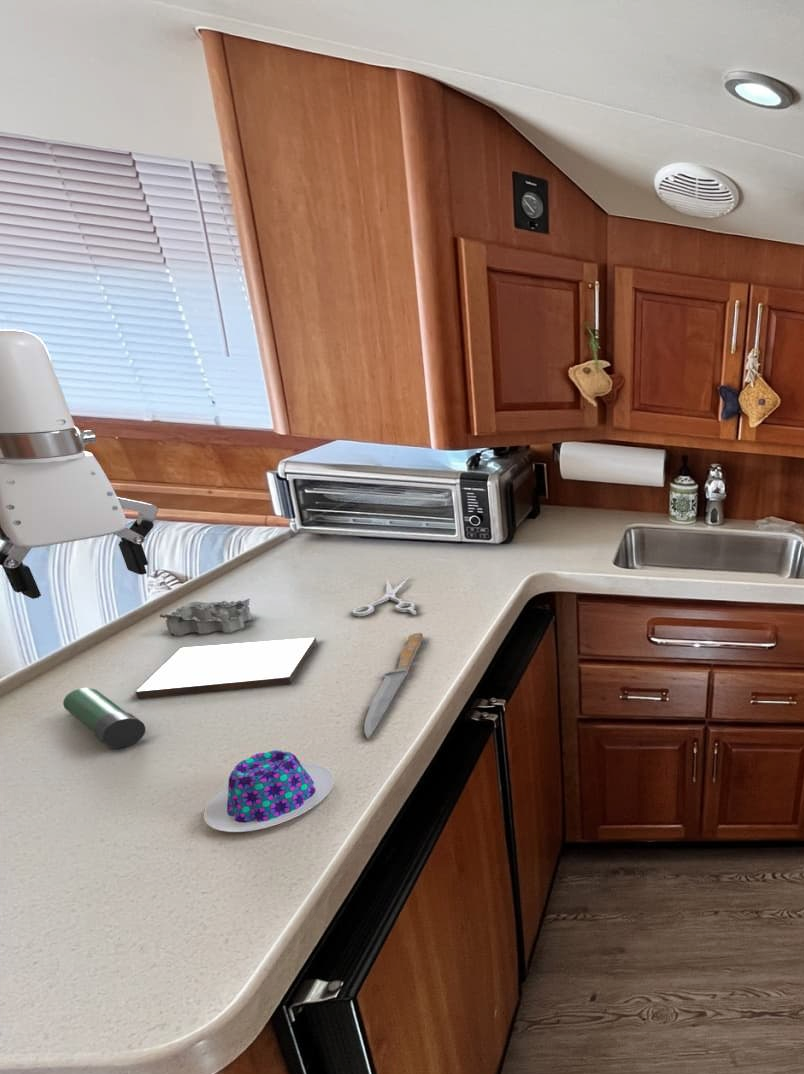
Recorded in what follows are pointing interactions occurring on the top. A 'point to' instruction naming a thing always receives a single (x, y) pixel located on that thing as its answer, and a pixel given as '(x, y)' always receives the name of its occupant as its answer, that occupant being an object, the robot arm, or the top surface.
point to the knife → (391, 684)
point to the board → (229, 667)
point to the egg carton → (208, 617)
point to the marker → (104, 718)
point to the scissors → (388, 596)
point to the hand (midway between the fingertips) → (87, 583)
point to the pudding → (267, 792)
